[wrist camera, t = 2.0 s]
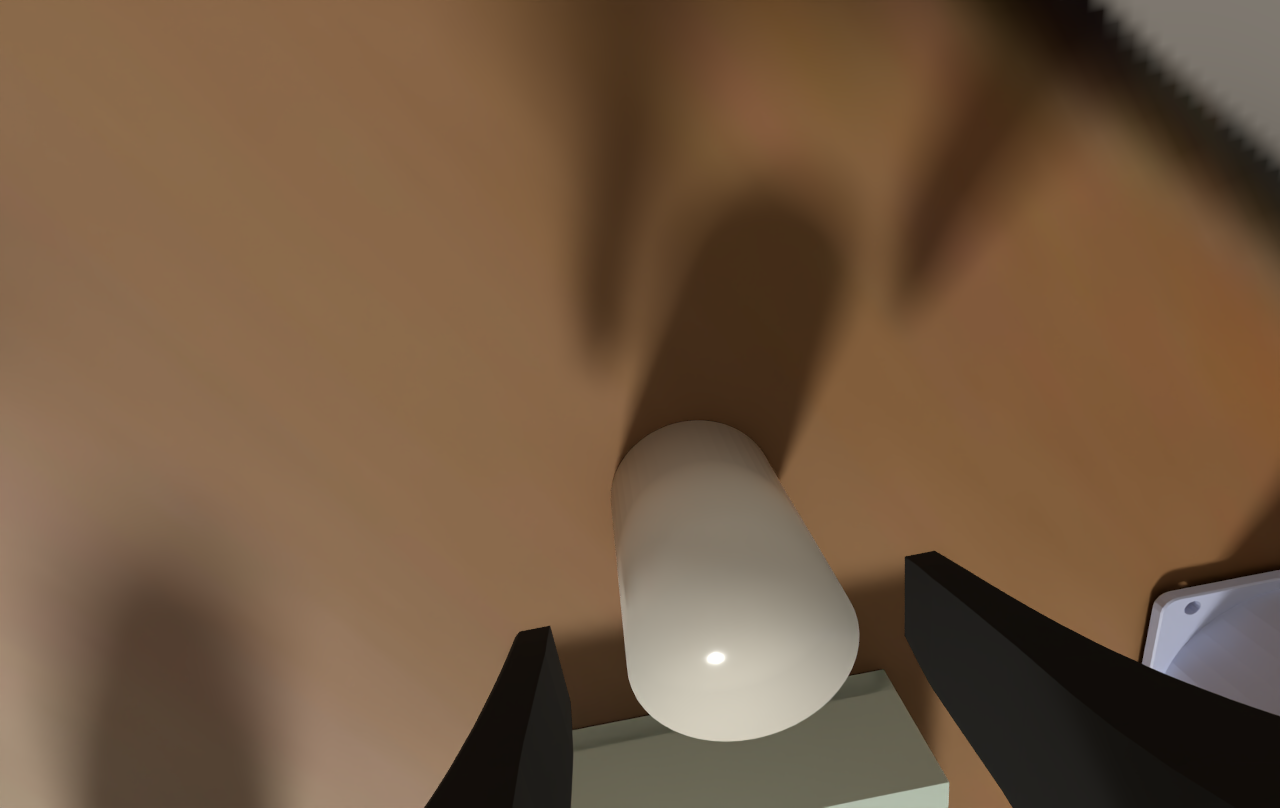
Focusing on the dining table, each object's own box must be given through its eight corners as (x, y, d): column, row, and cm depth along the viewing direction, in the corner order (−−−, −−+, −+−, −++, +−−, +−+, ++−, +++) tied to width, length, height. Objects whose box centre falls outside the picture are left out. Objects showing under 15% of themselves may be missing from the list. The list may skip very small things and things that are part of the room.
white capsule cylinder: (765, 405, 17) (856, 536, 12) (778, 546, 19) (862, 717, 13) (597, 437, 17) (607, 583, 12) (625, 575, 19) (646, 760, 13)
